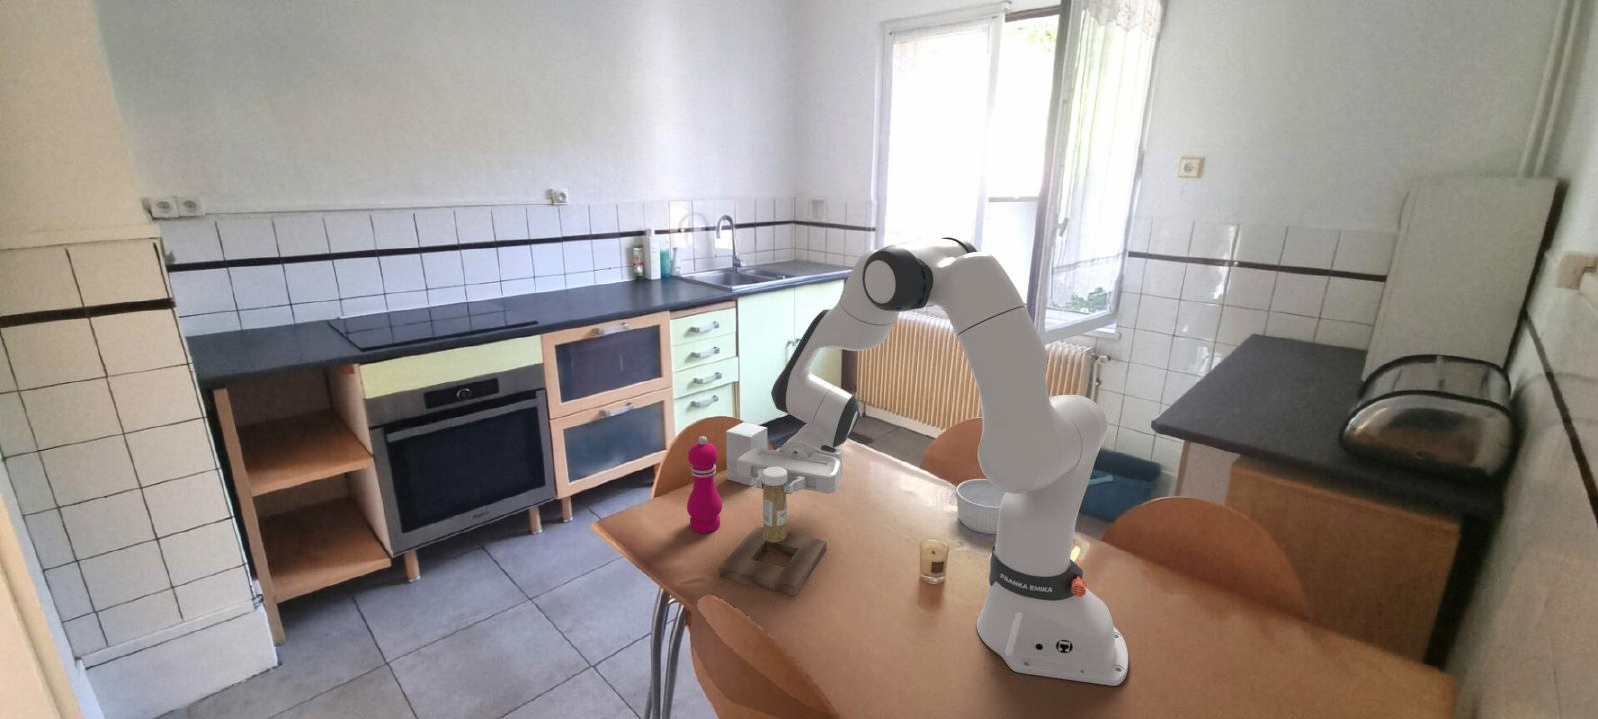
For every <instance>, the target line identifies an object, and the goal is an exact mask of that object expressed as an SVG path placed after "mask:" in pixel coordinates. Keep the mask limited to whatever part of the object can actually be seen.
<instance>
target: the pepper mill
mask: <svg viewBox="0 0 1598 719" xmlns="http://www.w3.org/2000/svg"><path fill="white" fill-rule="evenodd" d="M697 440H698V442H697V443H695V444H693V445H692V446H691V447H690V448H689V451H688V453H687V456H688V457H687V459H688V462H689V464H691V466H690V469H691V471H690V473H691V475H692V476H693V486H692V490H691V493H690V495H689V497H688V499H687V503H686V512H687V514H688V515H689V516H690V518H689V528H690V529H691V530H692V531H694V532H695V533H700V534H708V533H713V532H716V531H717V530H718V529H719V528H720V526H721V516H720V515H721V512H722V510H723V501H722V499H721V498H722V497H721V495H720V494H719V492H718V490H717V487H716V484H715V479H714V477H715V474H716V472H717V470H716V468H717V466H716V463H717V461H718V459H719V453H718V450H717V447H716V446H715V445H714V444H713V443H710V442H708V439H707V437H706V436H705V435H702V436H699V437H698V439H697Z"/></svg>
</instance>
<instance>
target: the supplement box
mask: <svg viewBox="0 0 1598 719" xmlns="http://www.w3.org/2000/svg"><path fill="white" fill-rule="evenodd" d="M725 443H726V444H725V446H726V448H725V449H726V450H725V451H726V477H727V480H729V481H731V482H736V483H740V484H741V485H742V484H743V485H746V486H749V487H752V486H755V480H756V479H750V478H745V477H741V476H739V475H738V472H737V460H738V458H739V457H740V456H742V455H743V454H745V453H747V452H748V451H750V450H752V449H755V448H764V449H768V427H766V426H762V425H757V424H753V423H748V422H745V421H743V422H741V423H738V424H737V425H735V426H733V427H731V428H729V429H727V430H726V431H725Z"/></svg>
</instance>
